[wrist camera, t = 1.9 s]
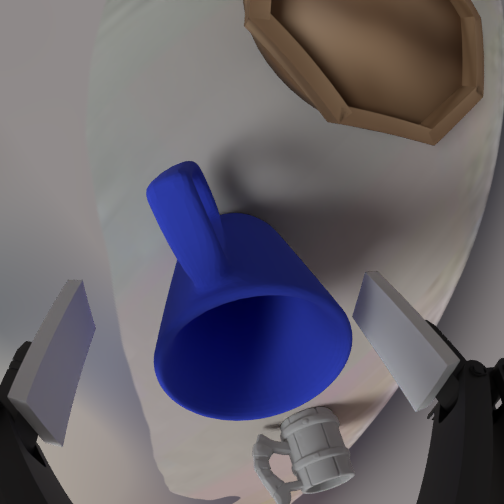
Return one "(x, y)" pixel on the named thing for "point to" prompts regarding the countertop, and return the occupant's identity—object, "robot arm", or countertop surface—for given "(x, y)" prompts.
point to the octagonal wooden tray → (376, 60)
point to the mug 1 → (239, 310)
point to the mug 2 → (305, 454)
